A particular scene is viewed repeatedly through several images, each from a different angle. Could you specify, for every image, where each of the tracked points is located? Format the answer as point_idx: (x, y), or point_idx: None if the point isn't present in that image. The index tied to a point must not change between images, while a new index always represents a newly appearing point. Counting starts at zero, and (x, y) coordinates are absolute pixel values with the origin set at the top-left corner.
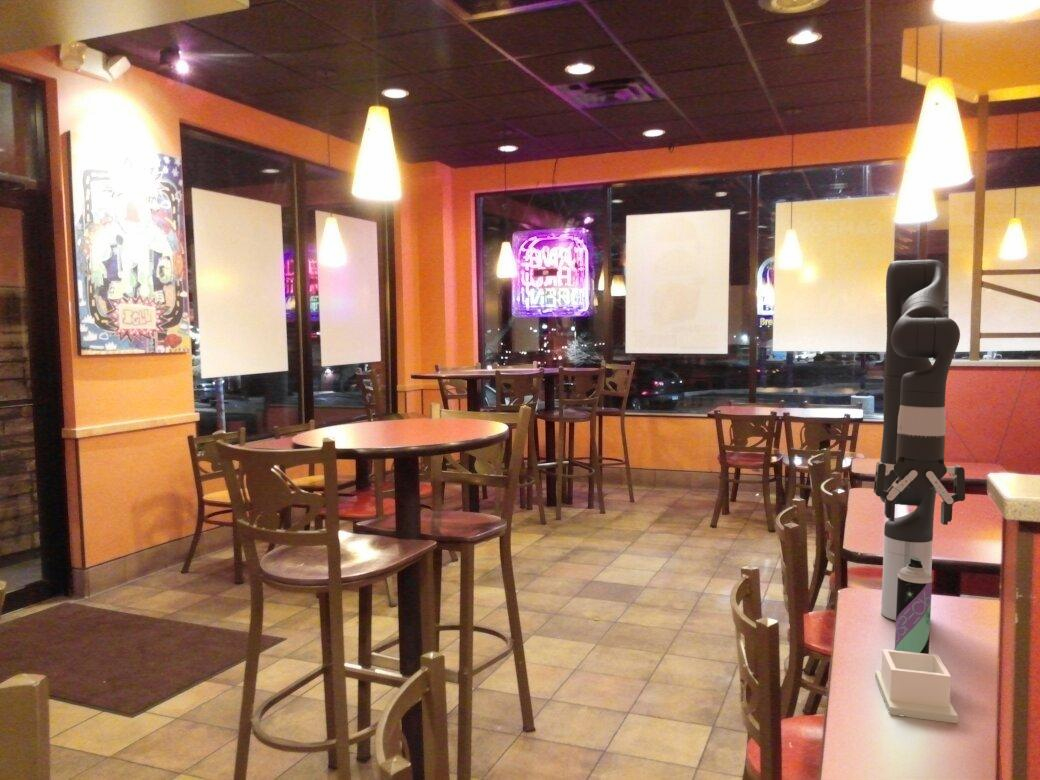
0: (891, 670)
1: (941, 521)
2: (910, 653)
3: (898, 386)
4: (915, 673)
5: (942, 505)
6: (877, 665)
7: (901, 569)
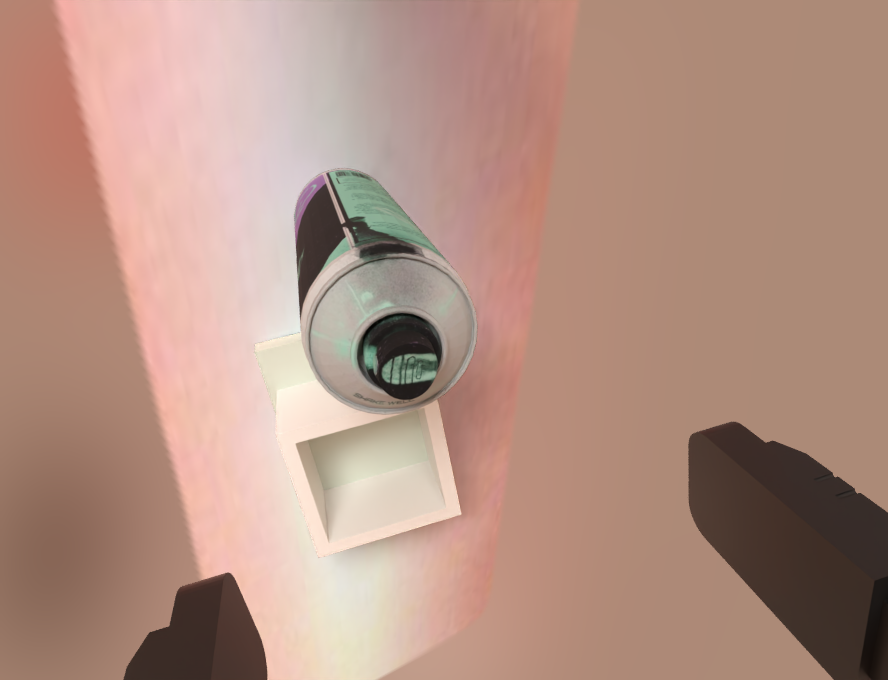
0: (319, 557)
1: (699, 468)
2: (359, 422)
3: None
4: (377, 537)
5: (833, 609)
6: (246, 248)
7: (321, 348)
